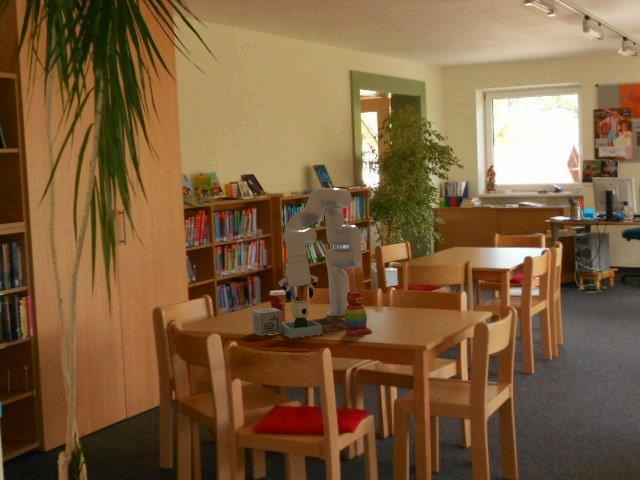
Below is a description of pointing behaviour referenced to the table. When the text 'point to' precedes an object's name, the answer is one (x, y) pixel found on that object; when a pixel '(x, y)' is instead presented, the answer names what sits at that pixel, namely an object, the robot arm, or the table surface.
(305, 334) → the bin
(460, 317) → the table surface
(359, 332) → the stacking bear
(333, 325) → the walnut corral
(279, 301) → the paper cup
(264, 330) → the icon cube
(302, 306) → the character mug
